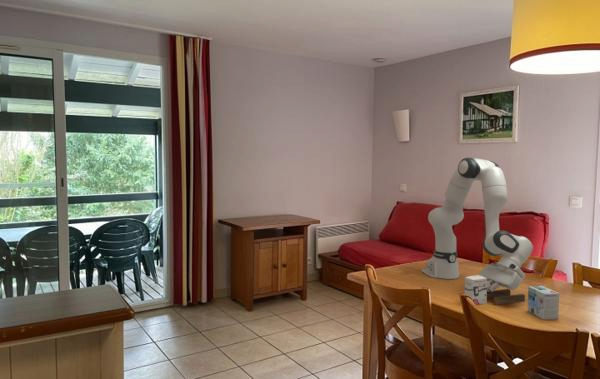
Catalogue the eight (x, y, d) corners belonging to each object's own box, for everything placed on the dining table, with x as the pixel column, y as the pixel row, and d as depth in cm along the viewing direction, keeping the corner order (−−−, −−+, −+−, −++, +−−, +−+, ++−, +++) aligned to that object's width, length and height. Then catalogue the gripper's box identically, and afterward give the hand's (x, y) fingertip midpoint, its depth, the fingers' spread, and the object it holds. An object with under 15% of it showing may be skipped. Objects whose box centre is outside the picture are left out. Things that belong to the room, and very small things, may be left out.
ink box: (472, 305, 188) (472, 279, 187) (464, 302, 192) (464, 276, 192) (487, 303, 191) (487, 277, 190) (478, 300, 195) (479, 274, 195)
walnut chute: (480, 298, 198) (480, 292, 198) (507, 294, 203) (507, 288, 203) (496, 305, 188) (496, 298, 188) (524, 301, 193) (524, 294, 193)
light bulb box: (527, 310, 181) (527, 285, 180) (542, 310, 181) (542, 285, 181) (543, 320, 170) (544, 293, 170) (559, 319, 171) (560, 292, 170)
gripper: (487, 258, 205) (469, 279, 202) (520, 267, 185) (502, 292, 183) (494, 266, 206) (477, 288, 204) (528, 277, 187) (510, 301, 184)
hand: (489, 290), depth 193 cm, fingers closed
